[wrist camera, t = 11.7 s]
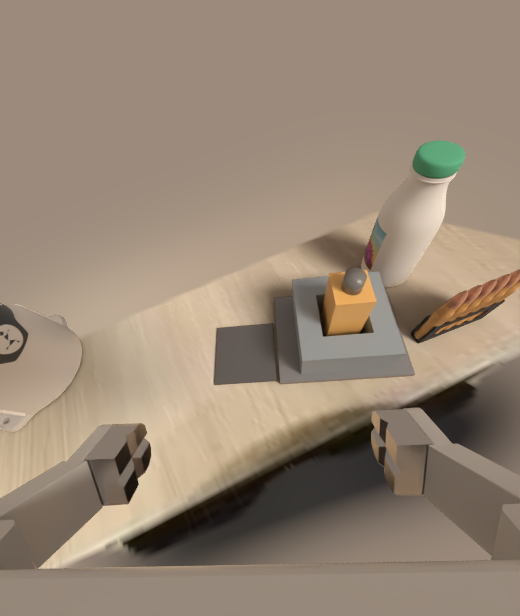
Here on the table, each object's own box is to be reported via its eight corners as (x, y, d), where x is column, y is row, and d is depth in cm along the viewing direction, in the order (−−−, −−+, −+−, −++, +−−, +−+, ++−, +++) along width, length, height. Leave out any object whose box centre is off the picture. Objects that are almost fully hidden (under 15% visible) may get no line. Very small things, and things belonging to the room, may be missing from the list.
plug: (324, 346, 38) (338, 295, 25) (319, 320, 40) (331, 262, 28) (353, 344, 37) (382, 291, 25) (347, 318, 39) (371, 258, 27)
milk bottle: (416, 266, 43) (497, 142, 26) (393, 297, 41) (466, 183, 24) (374, 246, 47) (422, 124, 29) (351, 274, 44) (388, 158, 27)
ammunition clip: (417, 343, 37) (465, 301, 27) (409, 332, 38) (453, 287, 28) (482, 318, 38) (553, 266, 27) (472, 308, 39) (538, 254, 28)
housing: (280, 384, 36) (277, 370, 30) (274, 300, 43) (271, 276, 37) (412, 375, 35) (436, 360, 29) (384, 290, 42) (398, 263, 36)
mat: (215, 384, 37) (214, 384, 37) (217, 328, 42) (217, 328, 42) (276, 380, 37) (276, 380, 36) (272, 324, 41) (272, 323, 41)
